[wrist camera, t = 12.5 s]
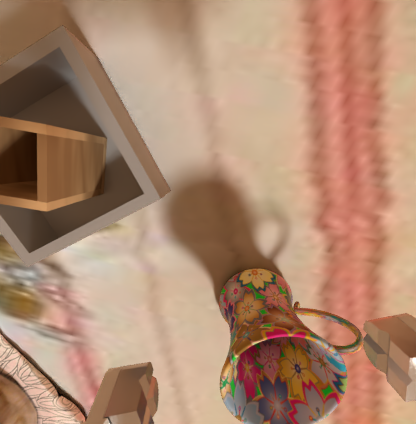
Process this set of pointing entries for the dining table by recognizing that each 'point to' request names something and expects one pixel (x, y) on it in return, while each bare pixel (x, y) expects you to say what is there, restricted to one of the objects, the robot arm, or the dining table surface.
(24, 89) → the grey crate
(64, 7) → the dining table surface
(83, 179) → the square wooden cup
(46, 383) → the cookie jar
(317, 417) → the mug
